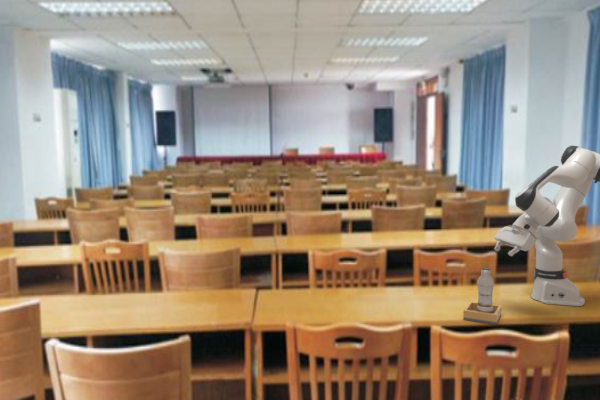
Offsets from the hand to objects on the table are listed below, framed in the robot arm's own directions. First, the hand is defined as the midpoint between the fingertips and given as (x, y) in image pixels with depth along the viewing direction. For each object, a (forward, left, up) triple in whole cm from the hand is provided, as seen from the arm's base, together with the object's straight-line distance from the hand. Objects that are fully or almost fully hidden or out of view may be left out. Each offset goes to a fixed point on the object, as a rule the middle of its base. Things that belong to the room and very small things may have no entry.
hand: (502, 252), depth 235 cm
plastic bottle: (+4, +14, -25) cm, 29 cm away
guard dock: (+5, +12, -26) cm, 29 cm away
